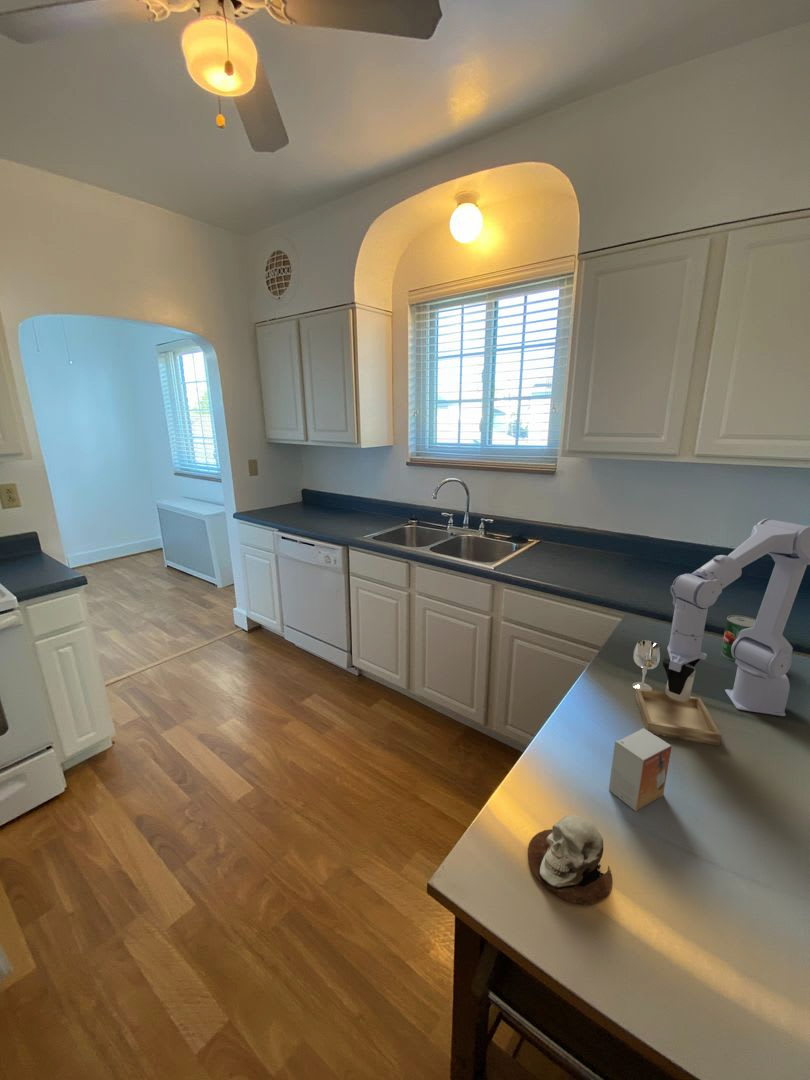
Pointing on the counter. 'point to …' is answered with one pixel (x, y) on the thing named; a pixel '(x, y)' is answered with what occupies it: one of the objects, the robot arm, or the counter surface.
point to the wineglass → (646, 659)
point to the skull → (571, 860)
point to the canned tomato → (734, 632)
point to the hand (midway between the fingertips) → (677, 687)
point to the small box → (639, 768)
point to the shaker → (686, 690)
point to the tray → (677, 717)
